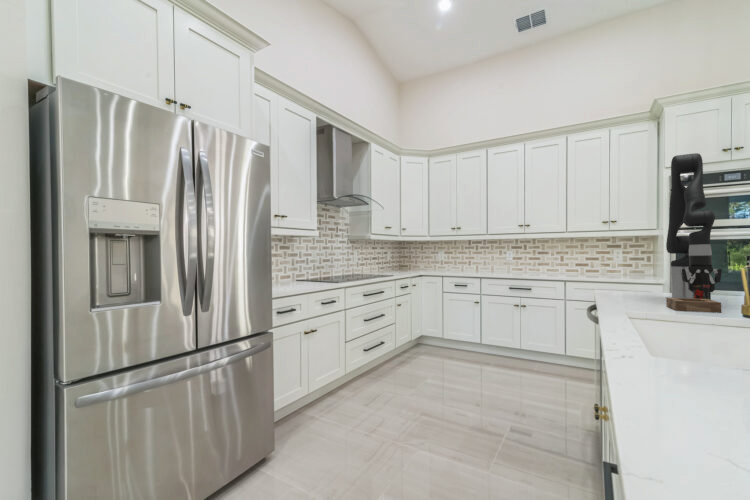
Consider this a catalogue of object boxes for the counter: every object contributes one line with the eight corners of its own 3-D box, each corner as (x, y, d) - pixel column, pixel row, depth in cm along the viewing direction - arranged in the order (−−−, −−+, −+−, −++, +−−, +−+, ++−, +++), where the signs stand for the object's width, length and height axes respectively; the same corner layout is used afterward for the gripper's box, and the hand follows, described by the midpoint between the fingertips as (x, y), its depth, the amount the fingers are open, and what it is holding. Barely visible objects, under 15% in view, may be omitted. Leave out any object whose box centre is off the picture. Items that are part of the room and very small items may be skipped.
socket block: (666, 306, 157) (666, 297, 157) (707, 308, 151) (706, 298, 151) (676, 310, 145) (676, 301, 145) (721, 312, 138) (721, 302, 138)
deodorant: (714, 307, 153) (713, 273, 153) (701, 307, 153) (700, 273, 154) (702, 305, 159) (701, 272, 159) (689, 305, 159) (688, 272, 160)
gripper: (717, 254, 157) (719, 291, 156) (676, 255, 163) (678, 290, 163) (725, 254, 150) (726, 293, 150) (682, 254, 157) (683, 292, 156)
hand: (701, 291), depth 156 cm, fingers closed on deodorant, 6 cm apart
